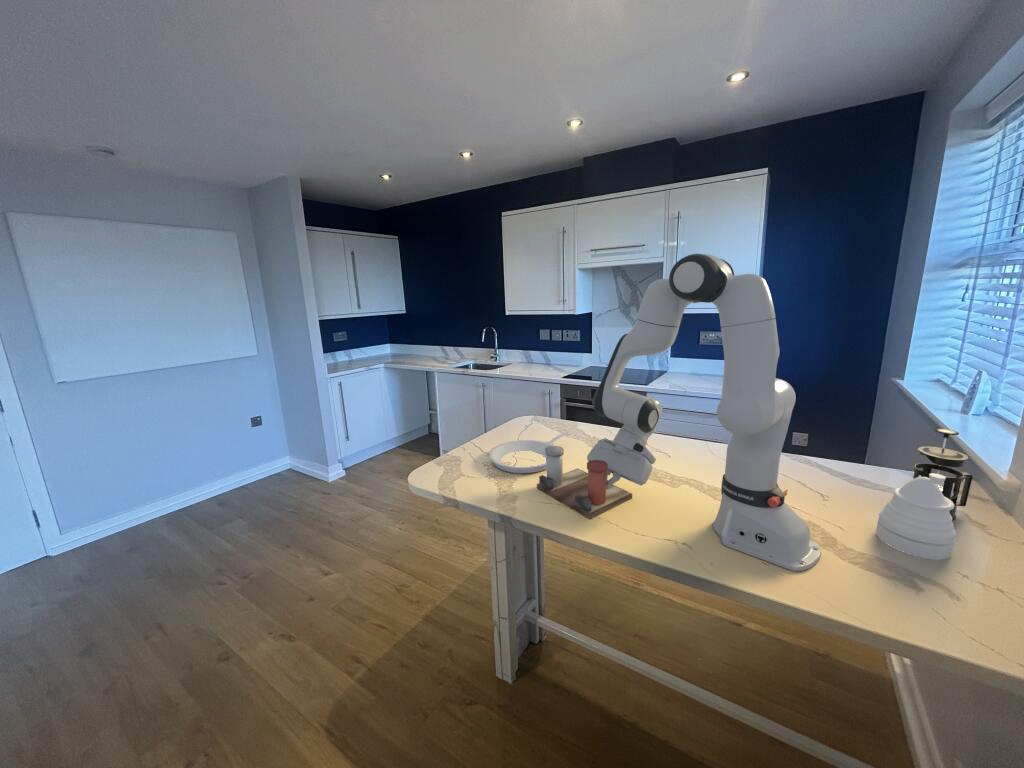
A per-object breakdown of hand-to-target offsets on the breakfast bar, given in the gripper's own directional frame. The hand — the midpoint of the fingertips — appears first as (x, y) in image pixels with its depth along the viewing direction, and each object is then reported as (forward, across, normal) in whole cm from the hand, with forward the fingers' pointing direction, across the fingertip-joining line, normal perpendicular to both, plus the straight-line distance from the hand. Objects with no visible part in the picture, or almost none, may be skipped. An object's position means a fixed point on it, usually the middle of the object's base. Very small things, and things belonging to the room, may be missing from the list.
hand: (604, 485), depth 117 cm
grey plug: (+6, -16, -1) cm, 17 cm away
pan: (0, -40, +9) cm, 41 cm away
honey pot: (-26, +58, +34) cm, 72 cm away
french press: (-41, +58, +49) cm, 86 cm away
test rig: (+4, -8, +3) cm, 10 cm away
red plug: (+5, 0, 0) cm, 5 cm away
